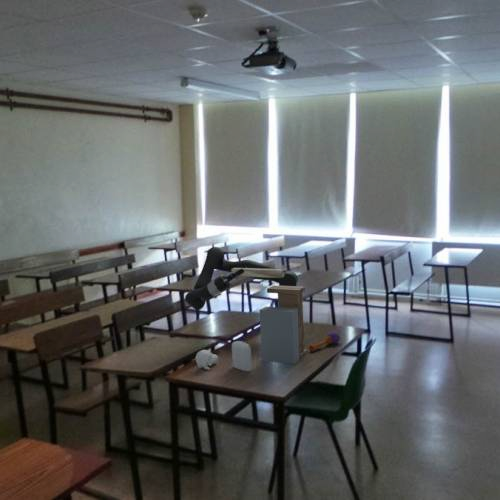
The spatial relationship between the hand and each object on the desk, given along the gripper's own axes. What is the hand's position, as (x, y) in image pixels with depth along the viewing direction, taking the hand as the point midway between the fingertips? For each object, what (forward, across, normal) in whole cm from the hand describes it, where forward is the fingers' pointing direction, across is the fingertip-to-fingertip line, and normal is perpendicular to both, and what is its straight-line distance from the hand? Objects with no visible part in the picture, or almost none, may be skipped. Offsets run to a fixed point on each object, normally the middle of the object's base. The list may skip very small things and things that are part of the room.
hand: (244, 269), depth 271 cm
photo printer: (-12, +26, -39) cm, 49 cm away
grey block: (-2, +10, -45) cm, 46 cm away
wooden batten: (+4, 0, -6) cm, 7 cm away
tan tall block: (-2, 0, -45) cm, 45 cm away
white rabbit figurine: (-26, +28, -32) cm, 50 cm away
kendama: (+9, -15, -52) cm, 55 cm away
